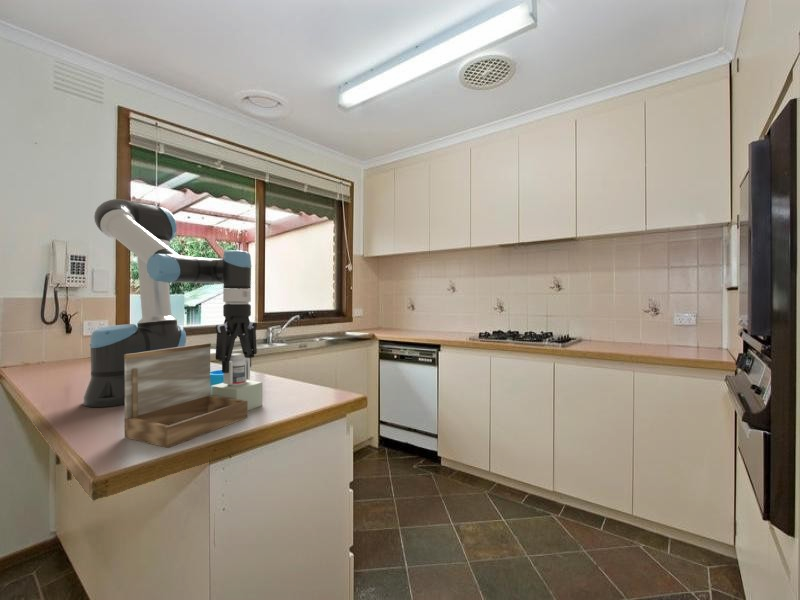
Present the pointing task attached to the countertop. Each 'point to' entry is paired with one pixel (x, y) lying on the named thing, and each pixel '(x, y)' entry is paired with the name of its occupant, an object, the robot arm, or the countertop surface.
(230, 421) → the wooden tray with backboard
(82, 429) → the countertop surface
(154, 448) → the countertop surface
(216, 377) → the mug
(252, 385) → the step
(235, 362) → the pill bottle
